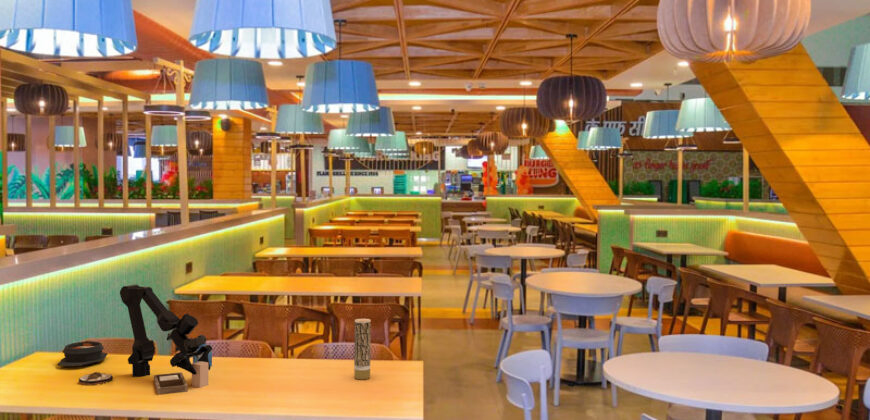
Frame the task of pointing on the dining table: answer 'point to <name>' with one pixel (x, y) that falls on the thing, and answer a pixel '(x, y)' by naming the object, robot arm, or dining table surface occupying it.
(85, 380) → the sushi roll
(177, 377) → the napkin stack
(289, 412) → the dining table surface
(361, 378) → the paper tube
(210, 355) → the perfume bottle
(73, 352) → the casserole
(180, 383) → the rack
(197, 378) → the clay blank
